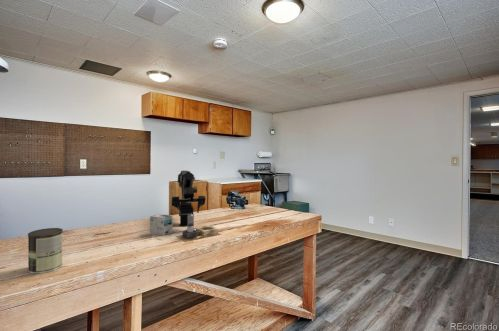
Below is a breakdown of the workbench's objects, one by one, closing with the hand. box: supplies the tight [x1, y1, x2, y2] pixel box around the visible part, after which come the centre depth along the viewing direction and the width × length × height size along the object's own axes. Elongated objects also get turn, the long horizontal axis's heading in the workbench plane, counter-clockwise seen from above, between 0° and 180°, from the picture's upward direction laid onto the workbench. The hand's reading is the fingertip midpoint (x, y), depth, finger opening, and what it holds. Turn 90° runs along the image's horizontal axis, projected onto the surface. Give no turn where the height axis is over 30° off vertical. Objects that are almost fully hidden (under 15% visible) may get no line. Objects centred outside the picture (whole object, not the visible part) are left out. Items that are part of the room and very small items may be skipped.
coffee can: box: [27, 227, 64, 275], centre depth 97 cm, size 10×10×14 cm
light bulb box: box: [149, 213, 173, 236], centre depth 142 cm, size 11×7×11 cm, turn 65°
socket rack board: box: [174, 225, 223, 243], centre depth 138 cm, size 22×12×4 cm, turn 130°
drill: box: [186, 213, 195, 233], centre depth 135 cm, size 3×3×12 cm
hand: (189, 213), depth 141 cm, fingers open, 9 cm apart
